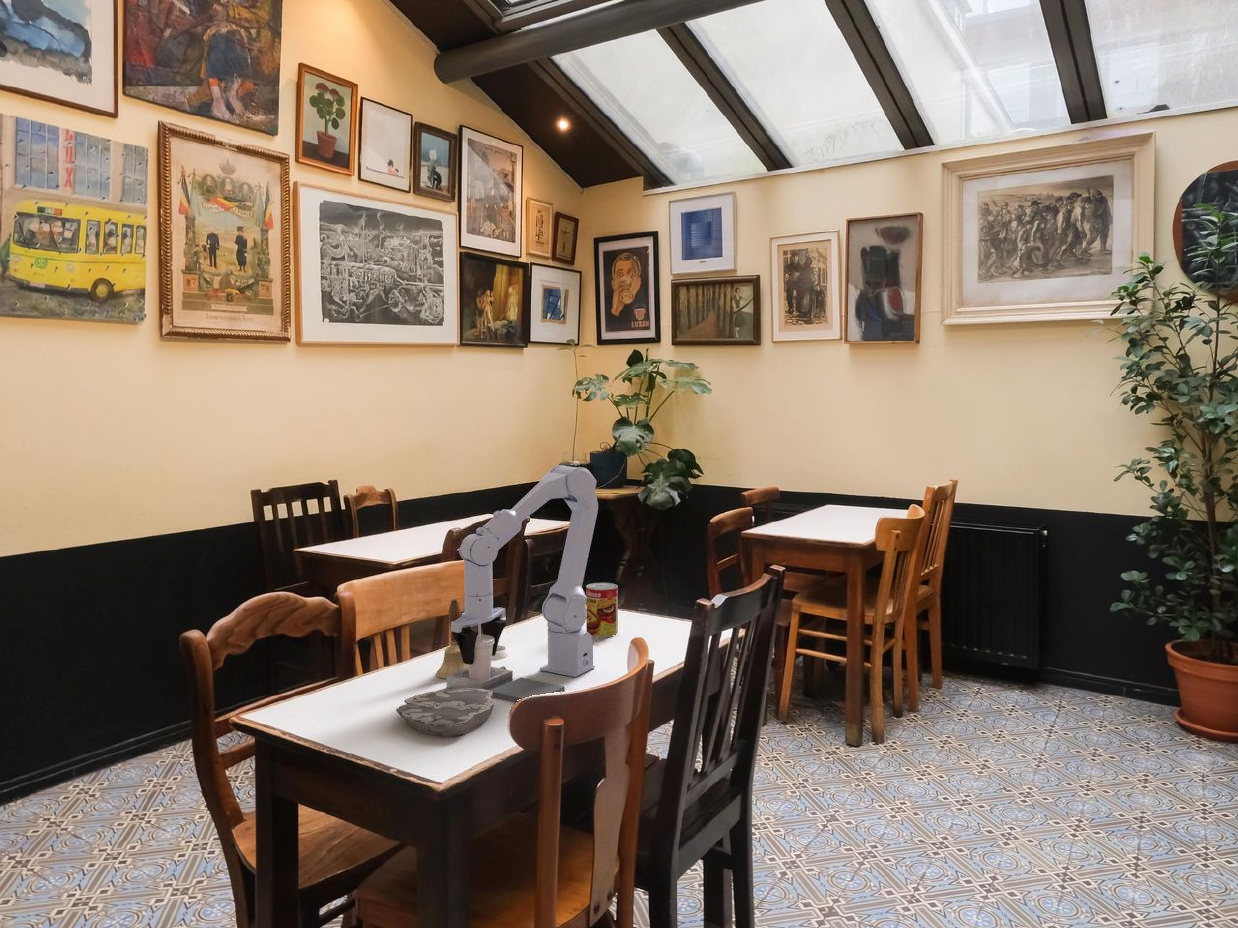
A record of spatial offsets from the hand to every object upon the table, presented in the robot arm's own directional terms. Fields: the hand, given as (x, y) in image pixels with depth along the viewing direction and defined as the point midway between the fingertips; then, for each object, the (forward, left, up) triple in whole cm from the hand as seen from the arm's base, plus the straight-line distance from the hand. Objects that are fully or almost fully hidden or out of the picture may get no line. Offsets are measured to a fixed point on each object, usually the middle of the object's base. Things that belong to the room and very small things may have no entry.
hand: (479, 659), depth 178 cm
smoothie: (0, 0, -6) cm, 6 cm away
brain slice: (-7, +18, -6) cm, 20 cm away
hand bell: (+10, -3, -6) cm, 12 cm away
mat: (-11, -1, -5) cm, 13 cm away
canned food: (+1, -47, -6) cm, 47 cm away
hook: (+12, -18, -6) cm, 22 cm away
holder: (0, -2, -5) cm, 6 cm away
